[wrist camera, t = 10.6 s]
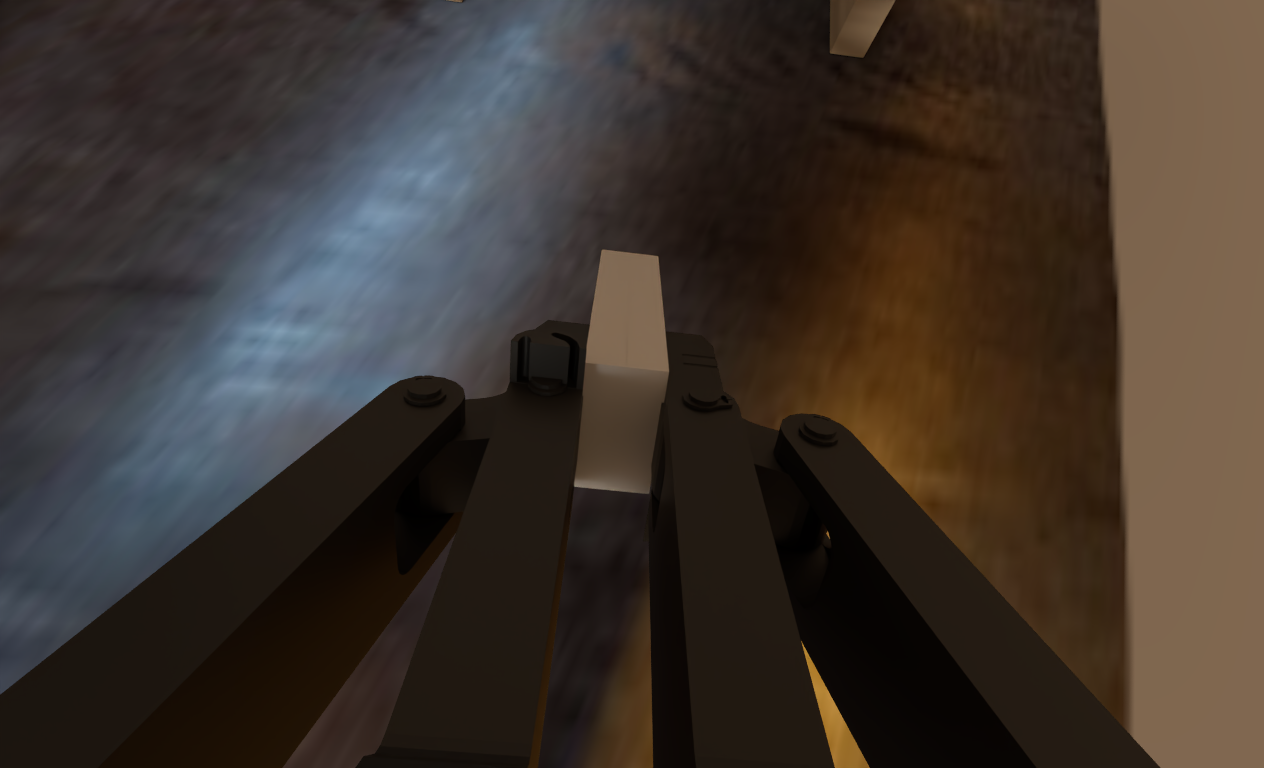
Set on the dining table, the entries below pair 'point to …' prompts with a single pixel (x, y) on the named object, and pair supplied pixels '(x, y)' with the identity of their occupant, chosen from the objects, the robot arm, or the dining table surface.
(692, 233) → the dining table surface
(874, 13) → the bay
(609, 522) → the dining table surface
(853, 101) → the dining table surface
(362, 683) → the dining table surface
